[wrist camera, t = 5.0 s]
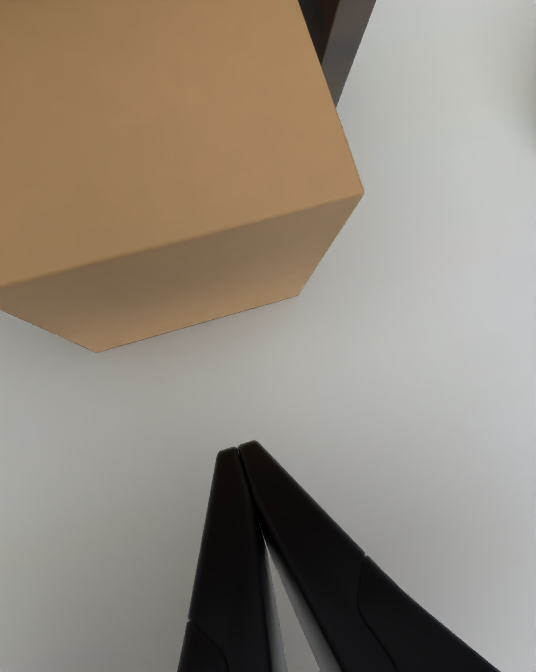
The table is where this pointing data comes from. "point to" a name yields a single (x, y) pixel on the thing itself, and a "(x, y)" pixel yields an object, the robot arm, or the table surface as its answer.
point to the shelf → (336, 36)
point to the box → (162, 163)
